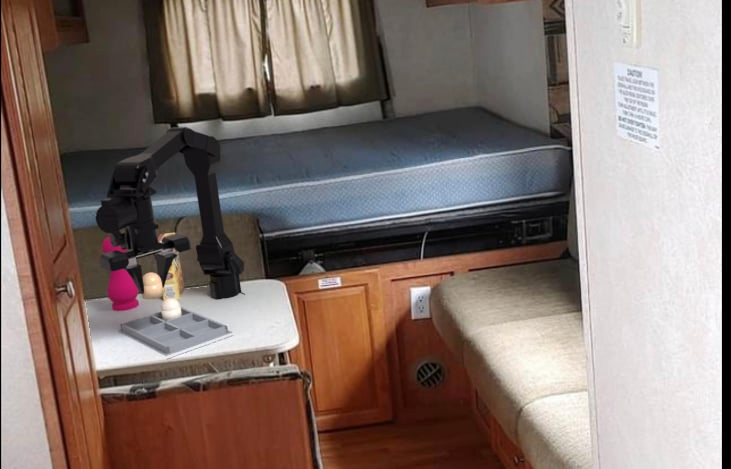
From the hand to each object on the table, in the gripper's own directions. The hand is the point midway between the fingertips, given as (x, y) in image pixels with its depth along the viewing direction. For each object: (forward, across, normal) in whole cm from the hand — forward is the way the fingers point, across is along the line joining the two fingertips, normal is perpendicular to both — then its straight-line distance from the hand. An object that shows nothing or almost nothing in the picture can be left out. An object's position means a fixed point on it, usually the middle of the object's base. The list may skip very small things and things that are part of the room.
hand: (152, 290), depth 204 cm
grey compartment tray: (+11, -3, 0) cm, 12 cm away
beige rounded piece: (+1, 0, 0) cm, 1 cm away
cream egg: (+11, -7, -7) cm, 14 cm away
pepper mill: (+12, -4, -26) cm, 29 cm away
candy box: (+12, -16, -24) cm, 31 cm away
